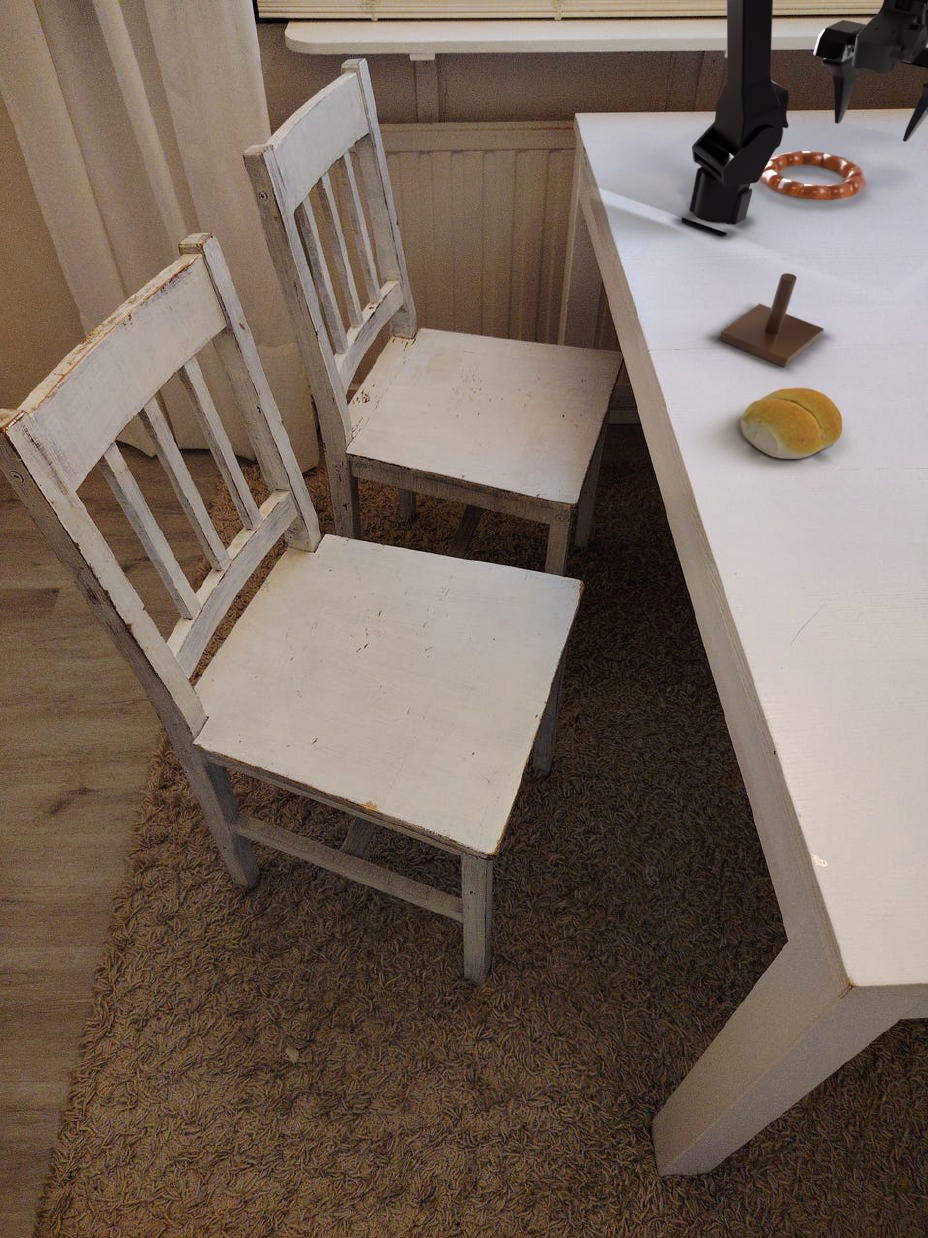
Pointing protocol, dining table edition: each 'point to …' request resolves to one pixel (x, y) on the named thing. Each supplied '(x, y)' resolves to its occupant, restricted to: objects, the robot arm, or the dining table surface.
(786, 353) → the stand
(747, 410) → the bread roll
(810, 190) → the segmented orange ring
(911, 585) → the dining table surface
